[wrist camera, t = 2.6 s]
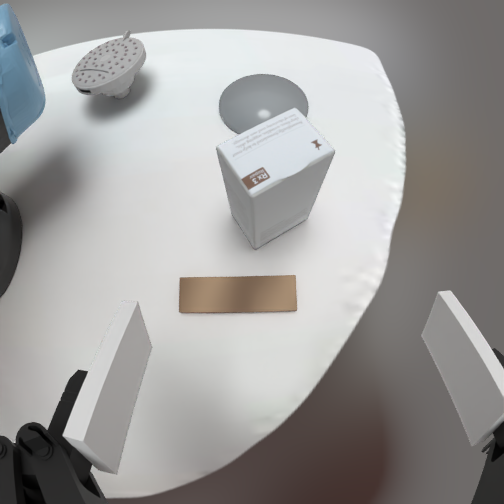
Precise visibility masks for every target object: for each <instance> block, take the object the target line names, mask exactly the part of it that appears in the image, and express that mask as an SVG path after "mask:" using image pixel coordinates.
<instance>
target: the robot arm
mask: <svg viewBox="0 0 504 504" xmlns="http://www.w3.org/2000/svg"><path fill="white" fill-rule="evenodd" d="M45 100H46V99H45V92H44V88H43V85H42V82H41V79H40V76H39V73H38V70H37V67H36V65H35V62H34V59H33V57H32V54H31V52H30V49H29V47H28V44H27V41H26V39H25V36H24V34H23V31H22V29H21V26H20V24H19V22H18V19H17V17H16V15H15V14H14V12H13V10H12V7H11V6H10V5H9V4H3V5H1V6H0V153H1V152H2V151H3V150H4V149H5V148H6V147H8V146H9V145H10V144H11V143H12V144H14V143H15V142H16V141H17V138H18V137H19V136H20V135H21V134H22V133H23V132H24V131H25V130H26V129H27V128H28V127H29V126H31V125H32V124H33V123H34V122H35V121H36V120H37V119H38V118H39V117H40V115H41V114H42V112H43V110H44V107H45ZM21 238H22V225H21V218H20V213H19V210H18V208H17V206H16V204H15V203H14V201H13V200H12V199H10V198H9V197H7V196H6V195H5V194H3V193H2V192H0V297H1V295H2V294H3V293H4V291H5V290H6V288H7V286H8V284H9V282H10V280H11V278H12V276H13V273H14V271H15V268H16V265H17V261H18V257H19V253H20V247H21ZM421 337H422V339H423V340H424V342H425V344H426V346H427V348H428V350H429V352H430V354H431V356H432V358H433V360H434V362H435V364H436V366H437V368H438V370H439V372H440V374H441V376H442V378H443V380H444V383H445V385H446V387H447V389H448V391H449V394H450V396H451V398H452V400H453V402H454V405H455V407H456V409H457V412H458V414H459V416H460V419H461V421H462V423H463V426H464V428H465V431H466V433H467V436H468V438H469V441H470V443H471V446H473V445H475V444H478V443H480V442H483V441H485V440H486V439H487V438H488V437H489V436H490V435H491V434H492V433H493V434H494V438H493V440H491V441H490V442H489V443H488V444H487V445H486V446H485V447H484V448H483V450H482V452H484V451H486V450H487V449H488V448H489V447H490V448H489V451H488V452H487V453H486V454H488V455H487V459H486V462H485V466H484V469H483V472H482V475H481V478H480V481H479V484H478V487H477V490H476V492H475V495H474V498H473V500H472V503H471V504H504V356H503V355H502V354H501V353H500V352H499V351H497V350H496V349H495V348H494V349H491V348H490V346H489V345H488V343H487V342H486V340H485V338H484V337H483V335H482V334H481V332H480V331H479V329H478V328H477V327H476V325H475V324H474V322H473V321H472V319H471V318H470V316H469V315H468V314H467V312H466V311H465V309H464V308H463V307H462V305H461V304H460V303H459V301H458V300H457V299H456V297H455V296H454V295H453V293H452V292H451V291H442V292H438V293H437V296H436V299H435V302H434V304H433V307H432V310H431V313H430V315H429V318H428V320H427V323H426V325H425V328H424V330H423V333H422V335H421ZM151 350H152V345H151V342H150V339H149V336H148V333H147V330H146V326H145V323H144V320H143V317H142V314H141V310H140V307H139V303H138V302H135V301H122V302H121V304H120V306H119V308H118V310H117V312H116V314H115V316H114V318H113V320H112V322H111V324H110V326H109V328H108V330H107V332H106V334H105V336H104V338H103V340H102V343H101V345H100V347H99V349H98V351H97V353H96V355H95V358H94V360H93V362H92V364H91V367H90V369H89V371H83V370H78V371H77V372H76V373H75V374H74V375H73V376H72V377H71V378H70V379H69V381H68V383H67V385H66V388H65V392H63V394H62V397H61V401H59V404H58V406H57V408H56V411H55V413H54V415H53V418H52V420H51V423H50V425H49V428H48V430H46V429H45V428H44V427H43V426H42V425H41V424H39V423H35V422H31V423H27V424H25V425H24V426H22V427H21V428H20V430H19V431H18V433H17V436H16V443H12V442H11V441H10V440H9V439H8V438H6V437H5V436H0V504H108V502H107V500H106V498H105V497H104V495H103V493H102V491H101V489H100V488H99V486H98V484H97V482H96V480H95V478H94V476H93V474H92V473H91V472H90V470H91V466H92V465H93V466H94V467H96V468H97V469H98V470H100V471H104V472H108V473H112V474H117V473H118V469H119V464H120V460H121V456H122V452H123V448H124V444H125V440H126V436H127V432H128V429H129V425H130V421H131V417H132V414H133V410H134V407H135V403H136V400H137V396H138V393H139V389H140V386H141V382H142V379H143V376H144V372H145V369H146V366H147V362H148V359H149V356H150V353H151Z"/></svg>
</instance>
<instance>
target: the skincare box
mask: <svg viewBox="0 0 504 504" xmlns="http://www.w3.org/2000/svg"><path fill="white" fill-rule="evenodd" d="M216 150H217V155H218V159H219V163H220V167H221V171H222V175H223V179H224V184H225V188H226V192H227V196H228V201H229V205H230V208H231V213H232V215H233V217H234V218H235V220H236V221H237V223H238V224H239V226H240V228H241V229H242V231H243V232H244V234H245V236H246V237H247V239H248V240H249V242H250V244H251V245H252V247H253V248H254V249H257V248H259V247H261V246H262V245H264V244H266V243H267V242H269V241H271V240H272V239H274V238H276V237H277V236H279V235H281V234H282V233H284V232H286V231H287V230H289V229H291V228H292V227H294V226H296V225H297V224H299V223H301V222H302V221H304V220H306V219H307V218H308V216H309V214H310V212H311V209H312V207H313V205H314V202H315V200H316V197H317V195H318V192H319V190H320V188H321V185H322V183H323V181H324V178H325V176H326V173H327V171H328V169H329V166H330V164H331V161H332V159H333V156H334V154H335V150H334V148H333V147H332V146H331V145H330V144H329V143H328V141H327V140H326V139H325V138H324V137H323V136H322V135H321V134H320V132H319V131H318V130H317V129H316V128H315V127H314V126H313V125H312V124H311V123H310V121H309V120H308V119H307V118H306V117H305V116H304V115H303V114H302V113H301V112H300V111H299V110H298V109H296V108H293V109H290V110H288V111H286V112H284V113H282V114H280V115H278V116H276V117H274V118H271V119H269V120H267V121H265V122H263V123H261V124H259V125H257V126H255V127H253V128H251V129H249V130H247V131H245V132H243V133H241V134H239V135H237V136H235V137H233V138H231V139H229V140H227V141H226V142H224V143H222V144H220V145H218V146H217V147H216Z"/></svg>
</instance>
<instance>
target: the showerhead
mask: <svg viewBox="0 0 504 504" xmlns="http://www.w3.org/2000/svg"><path fill="white" fill-rule="evenodd" d="M130 33H131V31H128V30H127V31H126V32H125V34H124V36H123V38H119V39H115V40H111V41H109V42H106V43H104V44H102V45H100V46H98V47H96V48H95V49H93V50H92V51H90V52H89V53H88V54H87V55H85V56H84V57H83V58H82V59H81V60H80V62H79V63H78V64H77V66H76V67H75V69H74V71H73V74H72V82H73V84H74V86H75V87H76V88H77V90H78V91H79V92H80V93H82V94H86V95H96V94H101V93H102V94H103V95H105V96H113V95H114V96H115V98H117V99H121V98H124V97H126V96H127V95H128V94H129V92H130V89H129V86H130V85H131V84H132V83H133V81H134V77H135V76H134V75H135V74H136V73H137V72H138V71H139V70H140V68H141V67H142V65H143V64H144V62H145V59H146V52H145V49H144V45H143V43H142V42H141V41H140V40H138V39H135V38H129V36H130Z"/></svg>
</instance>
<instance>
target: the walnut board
mask: <svg viewBox="0 0 504 504" xmlns="http://www.w3.org/2000/svg"><path fill="white" fill-rule="evenodd" d="M296 310H297V298H296V276H295V275H285V276H247V277H188V278H180V291H179V312H181V313H237V312H278V311H296Z"/></svg>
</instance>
